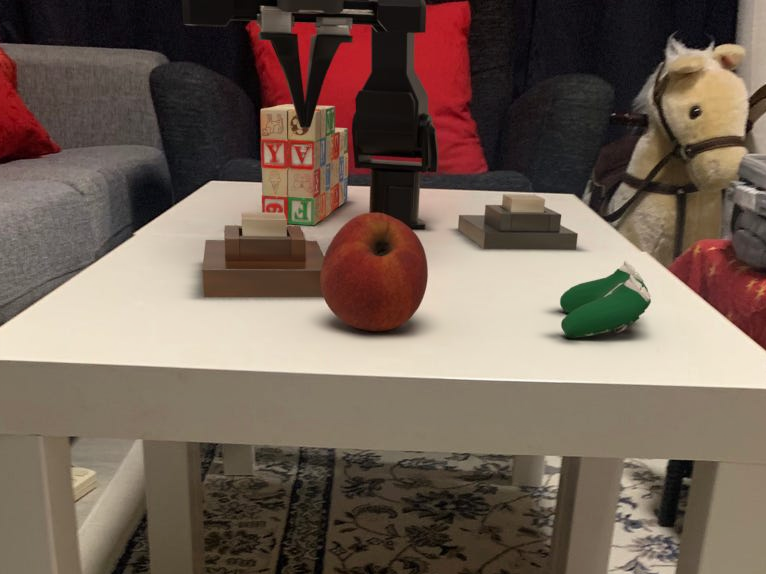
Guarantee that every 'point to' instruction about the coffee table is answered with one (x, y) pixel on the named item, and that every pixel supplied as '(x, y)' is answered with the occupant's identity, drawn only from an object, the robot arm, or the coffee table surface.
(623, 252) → the coffee table surface
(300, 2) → the robot arm
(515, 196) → the key
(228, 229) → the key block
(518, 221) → the grey stepped pedestal
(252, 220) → the key
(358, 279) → the apple
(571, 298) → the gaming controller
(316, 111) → the stack of blocks
